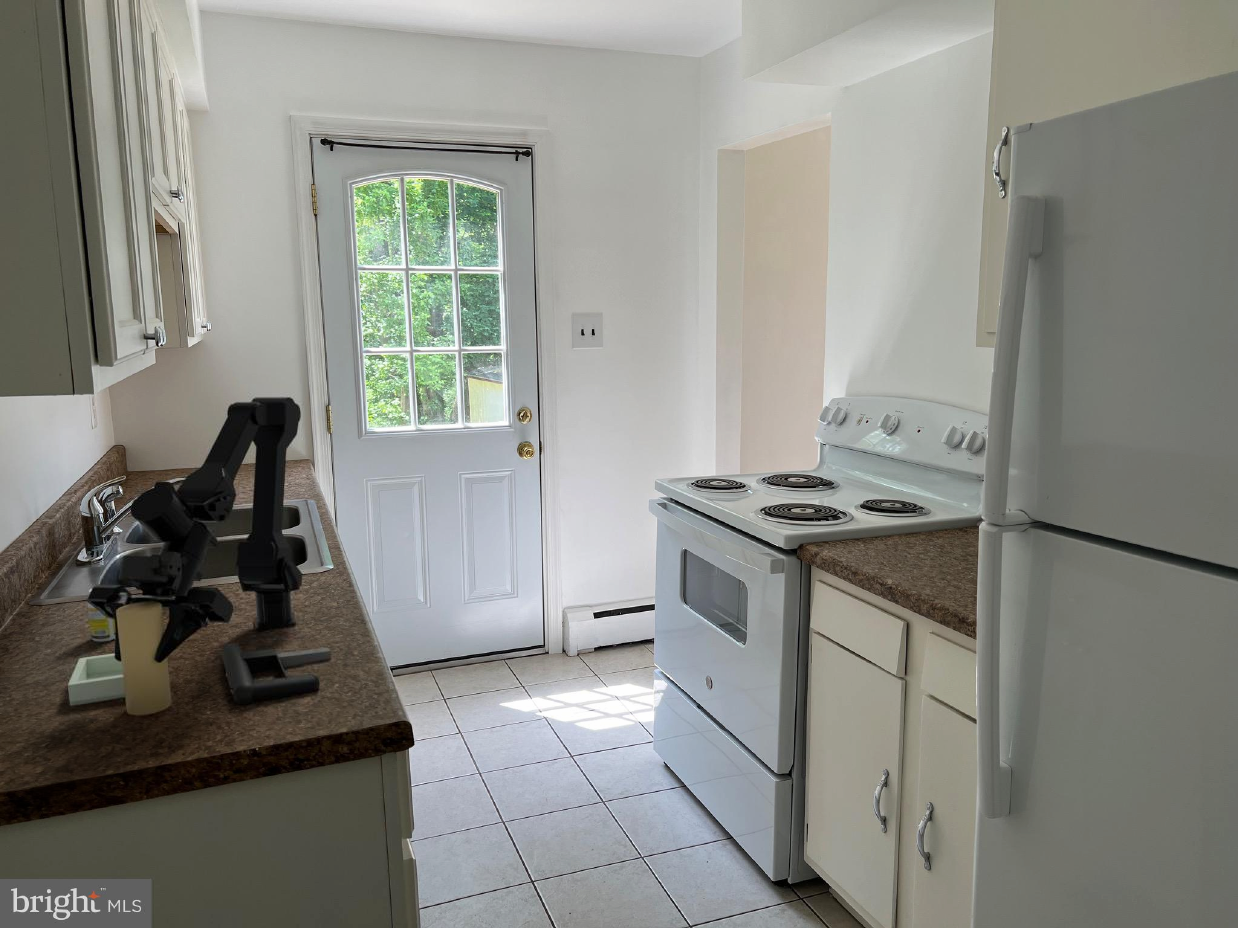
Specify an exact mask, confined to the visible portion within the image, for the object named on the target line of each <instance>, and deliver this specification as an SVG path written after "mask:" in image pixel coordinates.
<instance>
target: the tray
mask: <svg viewBox="0 0 1238 928" xmlns="http://www.w3.org/2000/svg"><path fill="white" fill-rule="evenodd" d="M68 681H69V682H68V684H67V689H68V698H69V699H68V700H69V707H74V706H78V705H86V704H91V703H97V702H98V703H99V702H103V701H111V700H117V699H124V698H125V689H124V680H123V671H122V661H117V660H116V659H115V652H114V653H109V654H100V655H94V656H93V655H92V656H87V657H81V658H78V661H77V664H76V665H75V668H74V670H73V672H72V675H71V677H70V679H69V680H68Z"/></svg>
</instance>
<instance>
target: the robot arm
mask: <svg viewBox="0 0 1238 928" xmlns="http://www.w3.org/2000/svg"><path fill="white" fill-rule="evenodd" d="M300 407H301V406H300V405H299V404H298V403H296V402H295V399H293V398H292V397H290V396H282V397H280V396H279V397H275V396H273V397H271V396H269V397H267V396H266V397H265V396H264V397H259V396H258V397H257V396H255V397H254V398H252V400H251V401H236V402H234V403H231V404H230V405H228V409H227V417H226V419H225V421H224V423H223V425H222V426H221V429H220V430H219V433H218V435H216V436H217V437H216V438H215V441H214V443H213V444H212V446H211V448H210V450H209V452H208V454H207V456H206V458H205V460H204V462H203V464H202V465H201V466H200V467H199V468H197V470H195V471H192V473H190V474H189V475H187V476H186V478H185V479H184V480H183V482H182V483H181V484H180V485H179V487H178V488H177V490H176V488H175V486H174V485H173V484H172V482H170V481H156V482H155V484H154V485H153V487H152V488H149V489H147V490H145V491H143V492H141V494H139V495H138V496H137V497H136V498H134V499H133V500H132V503H131V506H130V514H131V516H132V517H133V519H134V520H135V521H136V522H138V523H139V524H140V525H141V526H142V528H143V529H145V531H146V532H147V533H148V534H149V535H150V536H151V537H152V538H153V539H154V540H156V541H157V542H160V543H163V544H162V546H161V549H160V551H159V552H158V554H151V555H150V556H149V555H123V556H122V560H121V566H120V569H119V575H118V580H120V581H125V580H127V581H131V582H134V583H133V587H134V588H135V589H136V590H137V591H141V594H132V593H131V592H130V591H129V590H128V589H127V588H126V587H124V586H123V585H122V584H97V585H95V586H93V587H91V589H92V590H91V592H90V594H89V593H88V597H87V598H86V602H87V604H88V603H89V604H91V605H92V606H93V607H94V608H96V609H97V610H98V611H99V612H101V613H102V614H103V615H104V616H106V617H107V618H110V619H114V620H115V639H114V653H115V659H116V660H117V661H121V652H120V643H119V634H118V624H117V615H116V610H117V609H119V608H120V607H123V606H126V605H129V604H134V603H139V602H159V603H161V604H162V611H168V622H167V625H166V627H165V628H164V634H163V636H162V639H161V641H160V644H159V646H158V649H157V652H156V655H155V661H156V662H157V663H161V662H162V661H163V660H164V659H166V658H167V659H168V657H169V656H170V655H171V654H172V653H173V652H174V651H175V650H177V649H178V648H179V646H181V645H183V643H184V642H185V641H186V640H187V639H189V638H190V637H192V636H193V635H194V634H195V633H197V632H198V631H200V629H202V628H207V627H208V625H209V622H210V623H221V624H223V623H224V624H225V623H226V624H228V623H229V622H231V618H232V616H233V613H234V605H233V603H232V601H231V600H230V599H229V598H228V597H227V596H226V595H225V594H224V593H223V592H222V591H221V590H220V589H219V588H218V587H217V586H216V587H213V586H211V587H210V586H209V587H206V586H205V587H204V586H193V585H194V583H195V582H201V580H202V578H203V574H202V573H201V572H200V571H199V570H200V568H201V565H202V563H203V561H204V558H205V556H206V553H207V550H208V548H217V547H218V546H219V542H218V539H217V537H216V535H215V533H214V532H215V531H214V529H212V528H208V526H207V525H206V524H204V523H220V522H225V521H227V519H229V517H230V515H231V513H232V511H233V508H234V503H235V501H236V497H237V492H236V488H235V485H234V484H235V483H234V482H235V479H236V477H237V475H238V472H239V470H240V468H241V466H242V465H243V462H244V461H245V458H246V455H247V453H248V452H249V449H250V447H251V445H252V443H253V444H254V446H255V457H254V458H255V459H254V460H255V461H254V474H253V475H254V476H253V477H254V478H253V495H252V510H251V512H252V513H251V528H250V532H249V534H248V536H247V537H246V539H244V541H242V540H241V541H239V543H238V545H237V558H236V562H235V566H236V567H235V572H236V574H237V578H238V580H239V583H240V587H241V590H242V593H247V592H250V593H251V592H253V593H254V599H255V608H256V609H255V610H256V617H254V618H253V619H254V628H255V629H254V630H255V631H263V630H264V631H265V630H271V629H277V628H284V627H291V626H292V627H294V626H296V625H297V622H296V618H295V613H294V612H293V610H292V597H291V592H294V591H295V592H296V591H299V590H300V588H301V586H302V583H303V572H302V571H301V570H300V569H299V568H298V566H297V565H296V564H295V562H294V561H293V560H292V548H291V546H290V545H289V543H288V541H287V539H286V537H285V536H284V534H283V521H284V520H283V519H284V500H285V499H284V498H285V482H286V464H287V449H288V448H289V447H290V446H291V444H292V443H293V441H294V439H295V438H296V437H297V435H298V430H299V429H298V428H299V423H300V421H301V417H302V413H301V411H302V410H301V408H300ZM207 620H208V621H209V622H208V621H207Z"/></svg>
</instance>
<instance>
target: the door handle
mask: <svg viewBox="0 0 1238 928" xmlns="http://www.w3.org/2000/svg"><path fill="white" fill-rule="evenodd" d="M215 657H221V658H222V661H223V665H224V669H225V672H226V673H225V676H226V678H227V681H228V684H229V687H230V688H226V689H223V690H224V691H225V690H226V691H228V690H230V691H231V693H232V694H229V695H227V697H233V699H234V702H236V703H237V704H238V705H243V706H245V705H249V704H251V703H252V702H255V701H256V702H257V701H262V700H270V699H275V698H283V697H290V696H297V695H302V694H303V695H304V694H309V693H314V692H316V691H318V690H319V687H320V685H321V683H320V679H319V677H318V676H317V675H315V674H312V673H309V674H307V673H306V674H301V675H299V674H298V675H294V676H288V675H287V673H286V671H285V669H284V668H287V667H294V666H298V665H304V664H309V663H314V662H319V661H320V662H321V661H325V660H331V659H332V650H331V648H330V647H324V648H323V647H322V648H315V649H306V650H299V651H290V652H289V651H288V652H281V653H277V650H276V649H275V648H270V649H262V650H253V651H243V648H242V647H241V646H240V645H239V644H237V643H234V642H231V643H228V644H226V645H225V646H224V647H223V649H222V651H221V655H219V654H218V655H215ZM272 671H276V673H277V675H278V677H279V678H272V677H270V678H267V679H264V680H256V681H254V679H253V676H252V675H257V674H261V673H266V672H272ZM224 697H226V696H224Z"/></svg>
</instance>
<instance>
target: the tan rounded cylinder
mask: <svg viewBox="0 0 1238 928" xmlns="http://www.w3.org/2000/svg"><path fill="white" fill-rule="evenodd" d="M116 615H117V624H118V634H119V643H120V652H121V661H122V671H123V680H124V689H125V697H124V698H125V705H126V713H127V714H128V715H132V716H146V715H151V714H156V713H159V712H162V711H165V710H166V709H168V708H169V707H170V706H171V705H172V696H171V695H172V693H171V685H170V678H169V677H170V676H169V674H170V673H169V667H168V665H169V664H168V657H167V658H166V659H164V660H163V661H162V662H161V663H157V662H156V661H155V655H156V652H157V649H158V646H159V644H160V641H161V639H162V636H163V634H164V631H165V628H164V627H165V624H164V616H163V610H162V604H161V603H159V602H139V603H134V604H129V605H126V606H123V607H120V608H119V609H117V610H116Z"/></svg>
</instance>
